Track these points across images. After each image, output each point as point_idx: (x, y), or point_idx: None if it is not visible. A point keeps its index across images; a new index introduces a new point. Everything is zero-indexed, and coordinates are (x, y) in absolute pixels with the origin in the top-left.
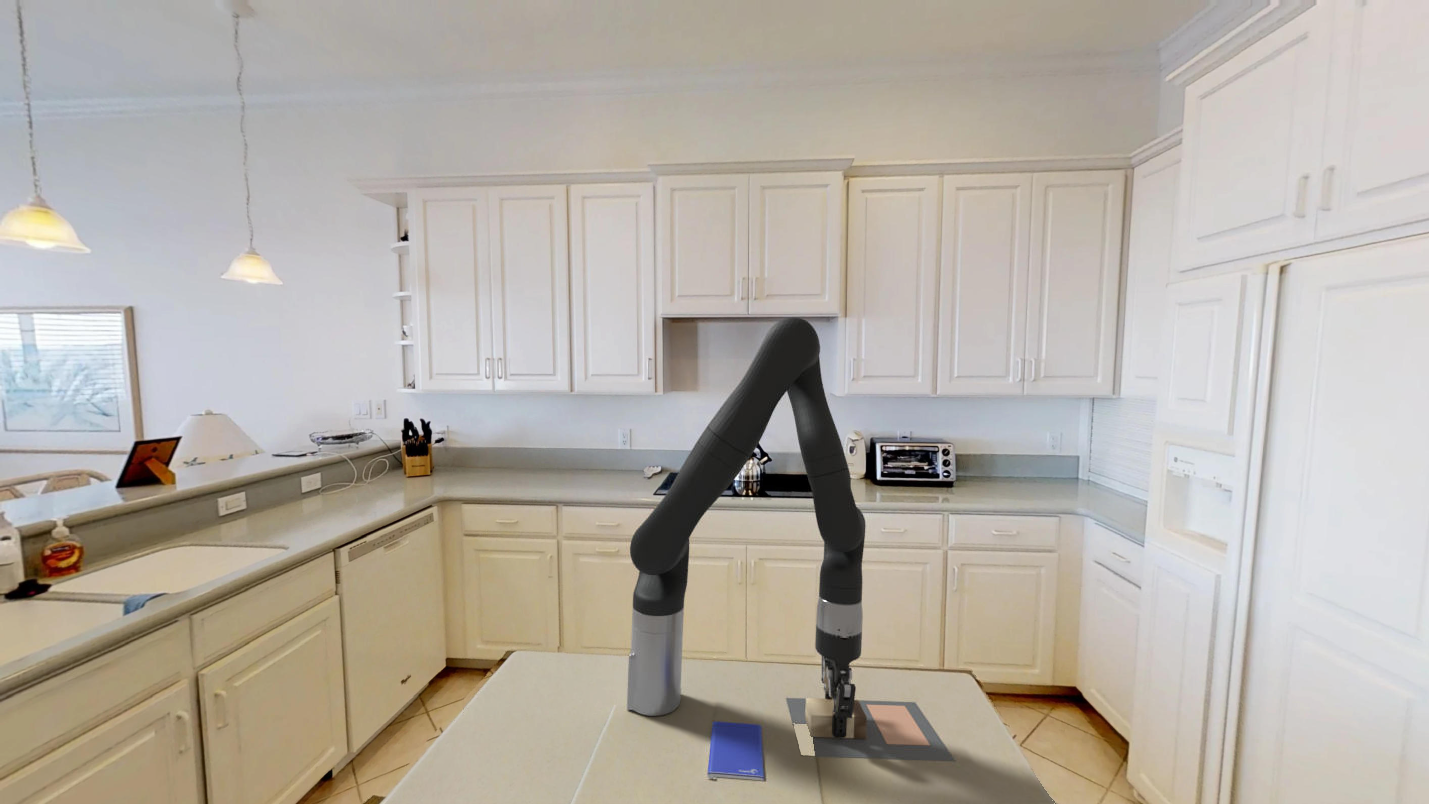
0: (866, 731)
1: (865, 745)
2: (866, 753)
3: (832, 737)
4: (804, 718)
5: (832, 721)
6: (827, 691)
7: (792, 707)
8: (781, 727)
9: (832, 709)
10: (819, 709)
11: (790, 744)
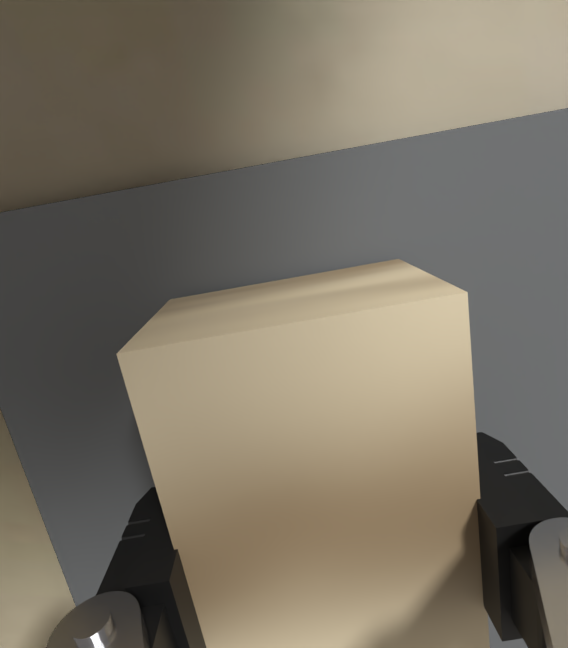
0: None
1: None
2: None
3: None
4: (406, 253)
5: None
6: (532, 568)
7: (552, 150)
8: (280, 60)
9: (83, 632)
10: (257, 435)
11: (80, 144)
